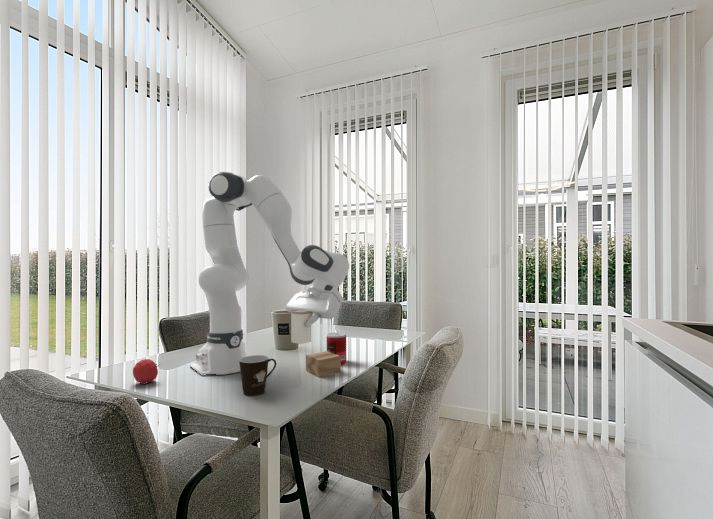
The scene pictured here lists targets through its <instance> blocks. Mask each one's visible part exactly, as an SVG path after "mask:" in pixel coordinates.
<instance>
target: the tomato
mask: <svg viewBox="0 0 713 519" xmlns="http://www.w3.org/2000/svg"><path fill="white" fill-rule="evenodd" d="M158 367H160V365H159V364H157V363H156V362H155V361H154V360H152V359H150V358H144V359H141V360H140V361H138V362H137V363H135V365H134V367H133V368H132V375H133V378H134V380H135V381H136V382H137V383H139V382H140V383H139V384H143V383H146V382H150V383H152V382H153V381H154V380H156V379H157V377H158V373H159V370H158ZM151 381H152V382H151ZM146 384H147V383H146Z"/></svg>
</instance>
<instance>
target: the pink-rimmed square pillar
mask: <svg viewBox="0 0 713 519" xmlns="http://www.w3.org/2000/svg"><path fill="white" fill-rule="evenodd" d="M311 313H312V312H310V311H308V310H294V311H291V314H290V320H291V321H290V324H291V325H290V326H291V328H290V333H291V334H290V337H291V339H290V341H291V342H290V343H294V344H298V345H303V344H307V343H311V342H312V326H311V327H310V328H308V327H305V326H304V323H305V321H306V320H309V319H310V318H311Z"/></svg>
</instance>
